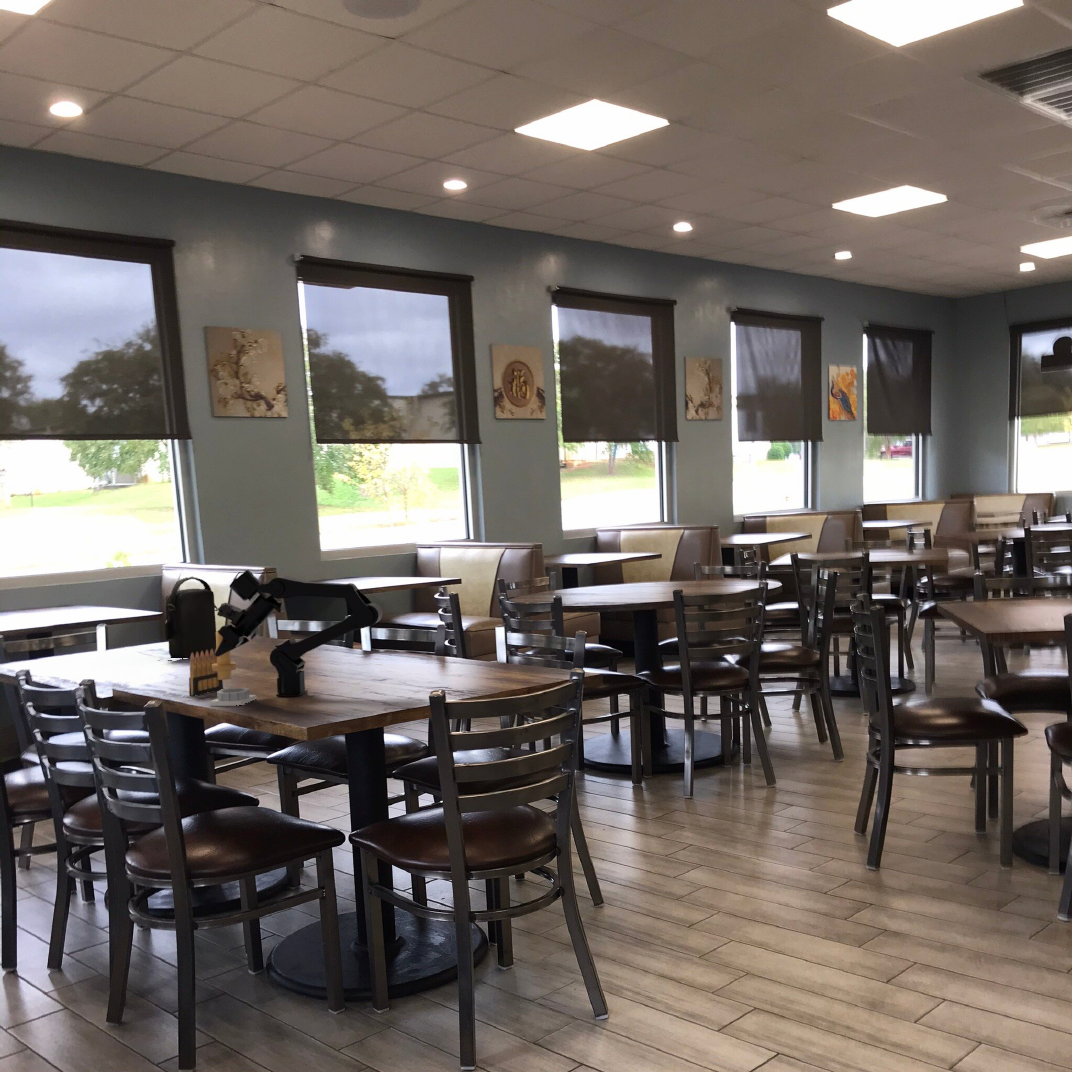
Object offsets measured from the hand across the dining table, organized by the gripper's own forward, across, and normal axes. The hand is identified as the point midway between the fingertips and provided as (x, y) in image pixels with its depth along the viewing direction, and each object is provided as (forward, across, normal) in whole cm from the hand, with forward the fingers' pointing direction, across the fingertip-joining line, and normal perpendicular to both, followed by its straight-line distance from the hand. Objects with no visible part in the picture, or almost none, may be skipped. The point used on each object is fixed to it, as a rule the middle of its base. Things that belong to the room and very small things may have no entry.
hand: (218, 654), depth 282 cm
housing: (+4, +9, +13) cm, 16 cm away
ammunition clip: (+13, -7, +4) cm, 15 cm away
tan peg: (+4, 0, +6) cm, 7 cm away
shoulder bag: (+35, -82, -18) cm, 91 cm away
